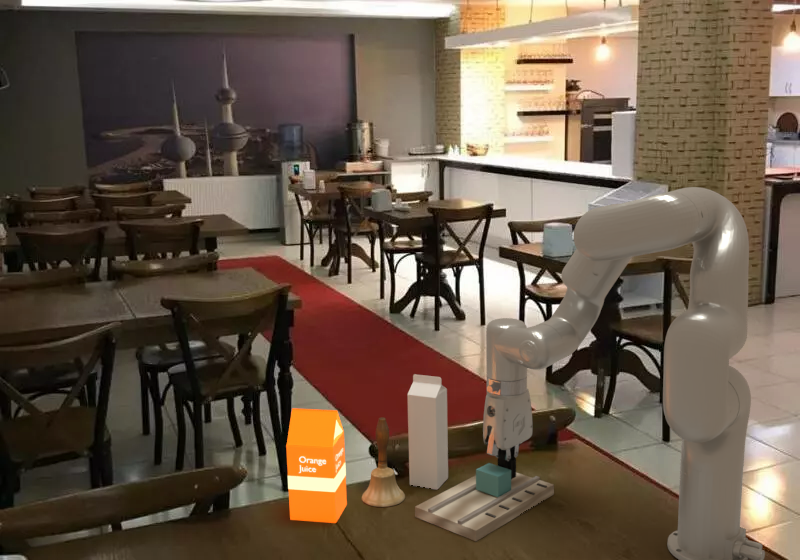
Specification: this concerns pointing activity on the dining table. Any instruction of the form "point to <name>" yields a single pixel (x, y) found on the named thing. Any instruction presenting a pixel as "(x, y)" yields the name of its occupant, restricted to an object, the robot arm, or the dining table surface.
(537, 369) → the robot arm
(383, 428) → the hand bell
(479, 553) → the dining table surface
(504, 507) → the count board
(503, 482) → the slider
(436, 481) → the milk
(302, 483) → the orange juice
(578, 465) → the dining table surface
